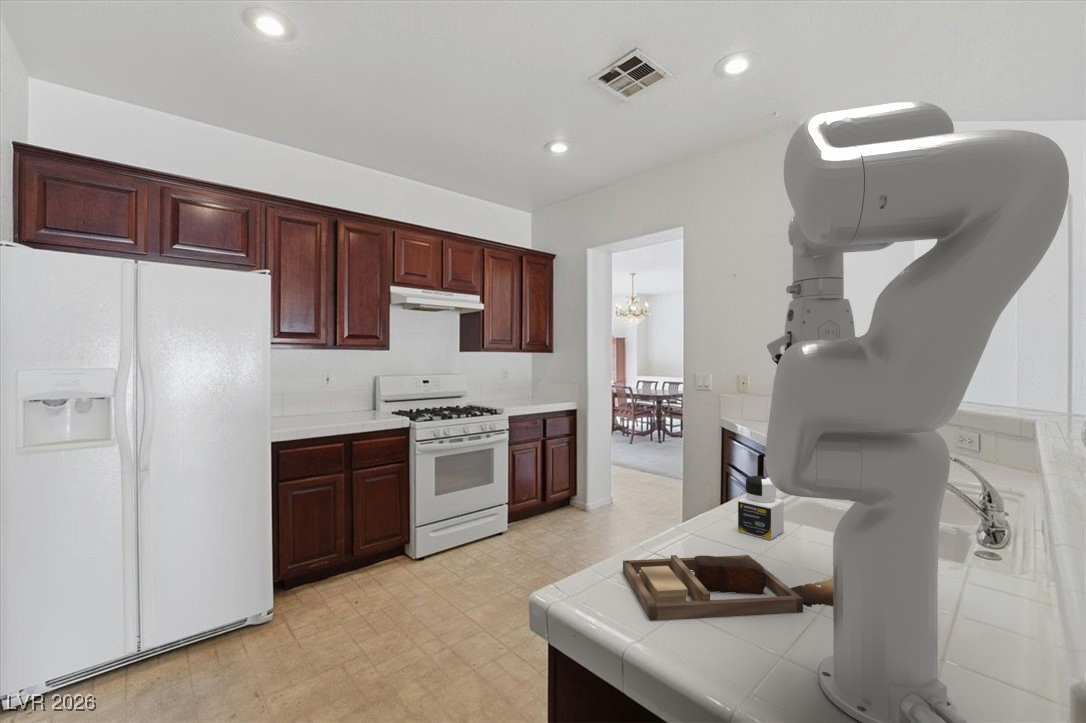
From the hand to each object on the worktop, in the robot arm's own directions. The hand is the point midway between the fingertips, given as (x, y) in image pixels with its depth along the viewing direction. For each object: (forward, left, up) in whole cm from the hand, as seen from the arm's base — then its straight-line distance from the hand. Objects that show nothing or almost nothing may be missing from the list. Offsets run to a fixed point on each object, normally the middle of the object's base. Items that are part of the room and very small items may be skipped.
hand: (818, 392), depth 81 cm
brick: (0, +16, -33) cm, 36 cm away
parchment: (-3, -5, -33) cm, 33 cm away
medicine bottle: (+23, -3, -32) cm, 40 cm away
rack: (-1, +20, -32) cm, 38 cm away
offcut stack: (-1, +28, -33) cm, 43 cm away
